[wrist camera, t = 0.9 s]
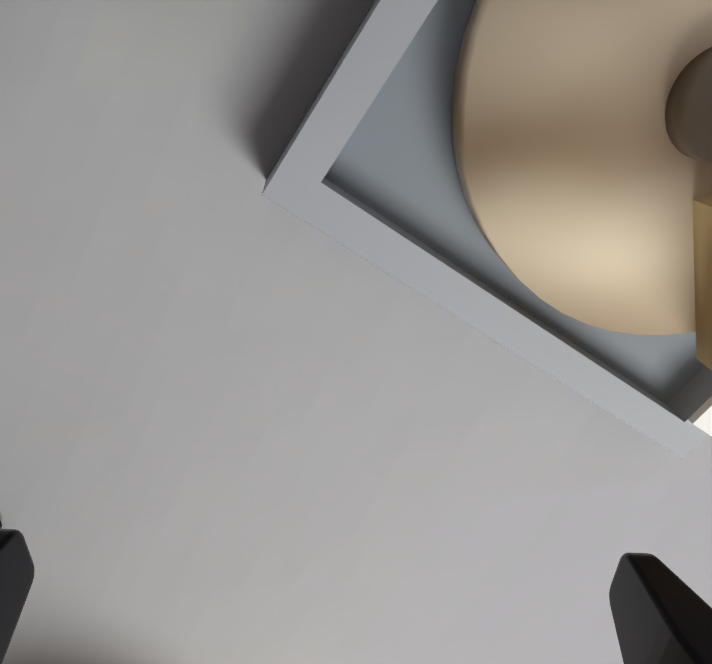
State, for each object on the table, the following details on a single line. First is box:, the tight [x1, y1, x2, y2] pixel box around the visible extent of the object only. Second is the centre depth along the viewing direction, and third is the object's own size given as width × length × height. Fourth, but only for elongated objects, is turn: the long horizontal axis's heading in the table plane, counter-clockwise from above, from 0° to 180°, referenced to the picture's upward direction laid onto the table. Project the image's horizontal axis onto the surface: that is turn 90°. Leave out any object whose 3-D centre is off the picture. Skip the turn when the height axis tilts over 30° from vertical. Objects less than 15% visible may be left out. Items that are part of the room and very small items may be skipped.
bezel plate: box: [262, 0, 712, 459], centre depth 17 cm, size 18×18×2 cm
